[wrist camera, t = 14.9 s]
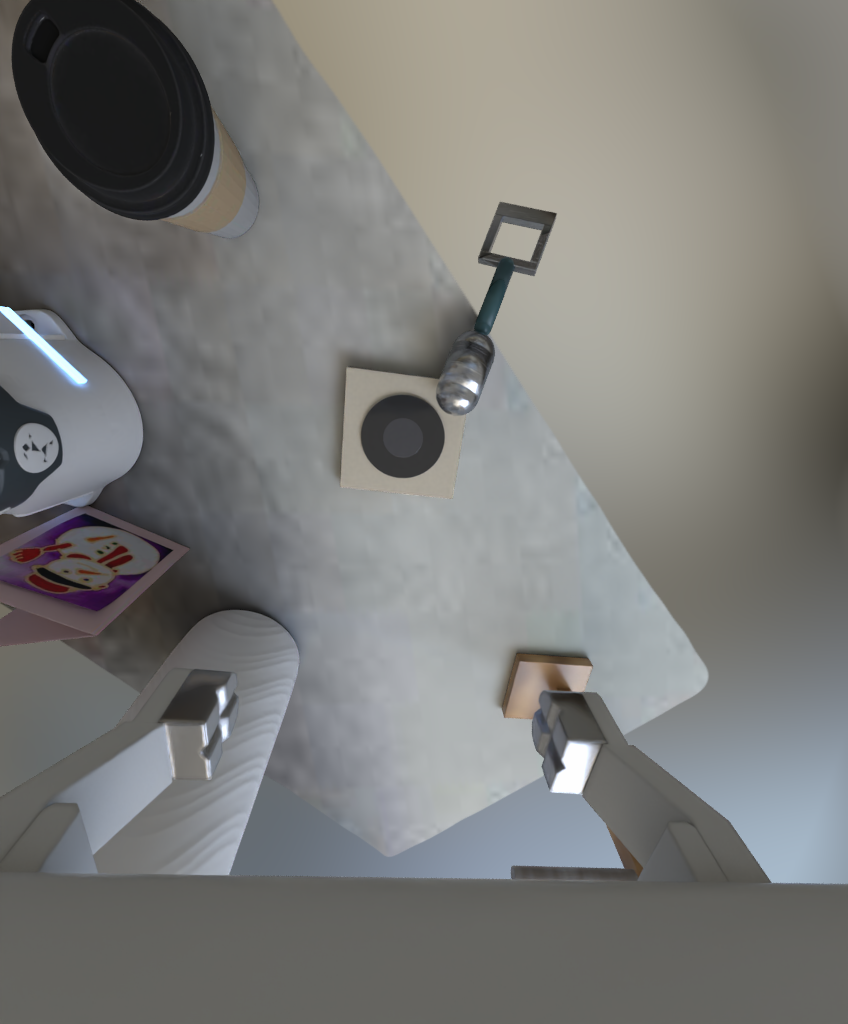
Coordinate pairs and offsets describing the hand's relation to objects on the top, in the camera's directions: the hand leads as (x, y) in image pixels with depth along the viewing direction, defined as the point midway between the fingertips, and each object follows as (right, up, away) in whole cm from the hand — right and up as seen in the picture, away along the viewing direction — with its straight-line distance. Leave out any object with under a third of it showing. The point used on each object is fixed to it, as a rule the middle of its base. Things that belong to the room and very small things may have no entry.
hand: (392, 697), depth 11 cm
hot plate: (-1, +13, +31) cm, 34 cm away
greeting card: (-32, +1, +35) cm, 47 cm away
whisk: (+3, +14, +26) cm, 29 cm away
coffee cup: (-16, +31, +23) cm, 42 cm away
